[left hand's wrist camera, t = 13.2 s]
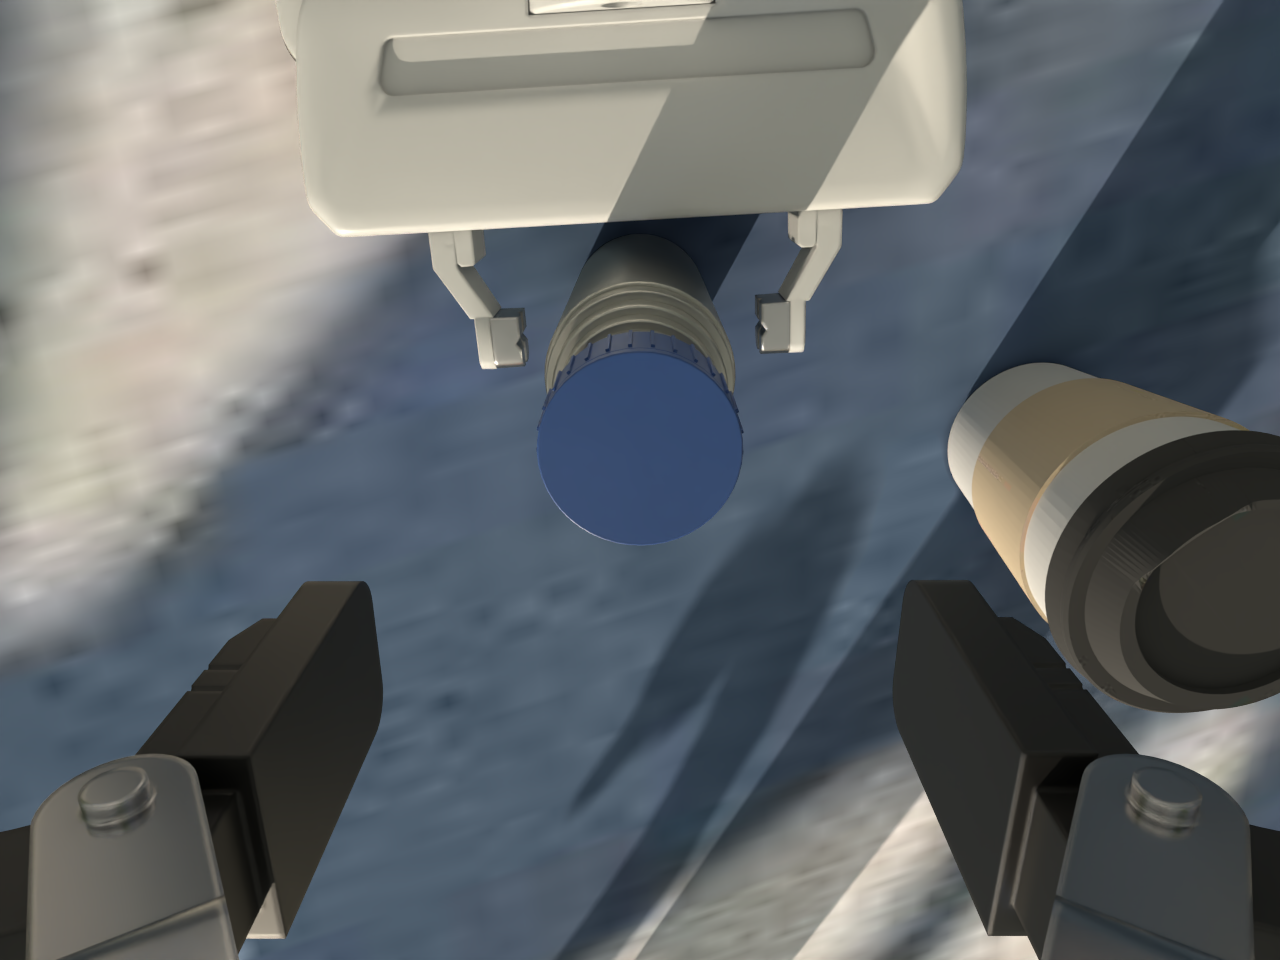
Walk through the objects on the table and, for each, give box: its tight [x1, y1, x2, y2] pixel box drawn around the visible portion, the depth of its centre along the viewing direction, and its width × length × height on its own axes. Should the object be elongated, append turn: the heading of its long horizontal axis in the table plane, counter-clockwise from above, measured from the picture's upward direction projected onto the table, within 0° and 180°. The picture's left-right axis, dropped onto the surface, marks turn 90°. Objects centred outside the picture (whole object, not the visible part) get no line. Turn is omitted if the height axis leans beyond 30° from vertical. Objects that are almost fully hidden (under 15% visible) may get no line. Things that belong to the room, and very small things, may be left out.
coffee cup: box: [948, 363, 1280, 713], centre depth 31 cm, size 9×9×15 cm
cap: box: [536, 330, 743, 545], centre depth 20 cm, size 4×4×2 cm
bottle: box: [545, 234, 735, 394], centre depth 28 cm, size 5×5×18 cm
